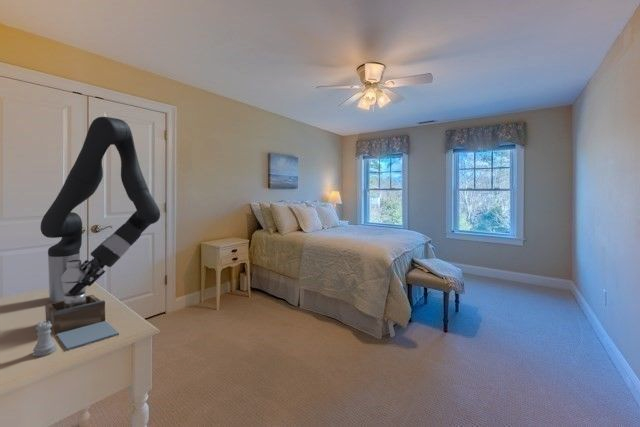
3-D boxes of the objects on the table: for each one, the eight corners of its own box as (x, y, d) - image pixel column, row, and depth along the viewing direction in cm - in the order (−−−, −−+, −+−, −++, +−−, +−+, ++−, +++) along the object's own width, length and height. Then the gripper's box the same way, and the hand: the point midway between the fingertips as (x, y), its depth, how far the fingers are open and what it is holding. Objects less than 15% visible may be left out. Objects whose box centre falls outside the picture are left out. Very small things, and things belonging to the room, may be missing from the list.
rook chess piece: (29, 358, 75) (28, 328, 75) (37, 349, 79) (36, 320, 79) (51, 355, 77) (51, 325, 77) (58, 347, 81) (58, 318, 81)
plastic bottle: (74, 327, 92) (72, 264, 91) (56, 325, 94) (54, 262, 92) (93, 319, 98) (92, 259, 97) (77, 316, 100) (75, 257, 98)
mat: (56, 335, 87) (56, 333, 87) (105, 322, 96) (105, 320, 96) (67, 350, 80) (67, 348, 80) (118, 334, 89) (118, 332, 89)
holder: (45, 322, 95) (45, 301, 94) (93, 311, 105) (92, 292, 104) (55, 335, 87) (54, 312, 87) (105, 321, 97) (105, 301, 96)
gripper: (95, 240, 105) (51, 280, 96) (109, 246, 96) (62, 291, 87) (113, 253, 109) (72, 292, 101) (128, 260, 100) (85, 304, 92)
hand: (68, 291), depth 94 cm, fingers closed on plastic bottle, 6 cm apart
